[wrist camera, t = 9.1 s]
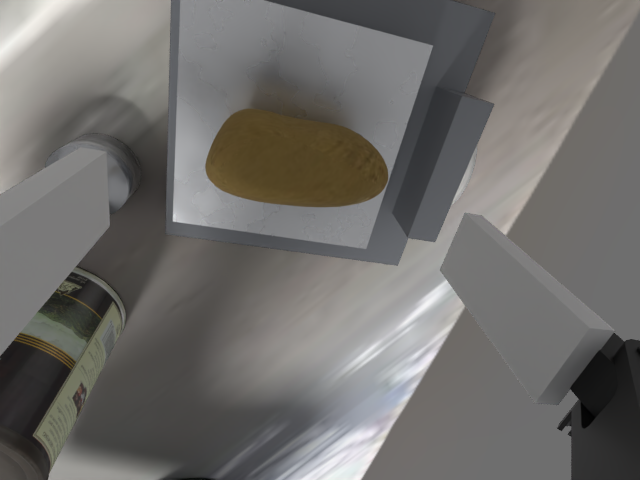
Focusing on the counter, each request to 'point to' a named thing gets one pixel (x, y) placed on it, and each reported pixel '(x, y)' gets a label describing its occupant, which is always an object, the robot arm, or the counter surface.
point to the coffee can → (54, 372)
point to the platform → (286, 104)
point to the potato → (294, 161)
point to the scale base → (420, 135)
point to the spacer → (109, 165)
